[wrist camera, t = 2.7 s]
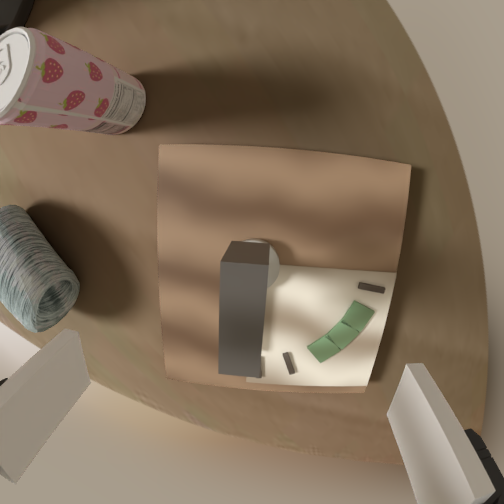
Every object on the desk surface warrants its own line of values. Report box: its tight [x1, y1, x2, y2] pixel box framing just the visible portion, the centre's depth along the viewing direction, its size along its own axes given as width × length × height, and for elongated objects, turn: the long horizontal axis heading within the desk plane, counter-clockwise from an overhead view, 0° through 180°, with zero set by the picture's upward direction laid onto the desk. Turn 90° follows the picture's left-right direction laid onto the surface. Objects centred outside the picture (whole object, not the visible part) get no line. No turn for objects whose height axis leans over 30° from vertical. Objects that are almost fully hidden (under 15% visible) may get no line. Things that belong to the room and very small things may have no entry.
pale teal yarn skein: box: [0, 205, 80, 332], centre depth 25 cm, size 14×10×10 cm
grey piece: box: [218, 238, 280, 378], centre depth 20 cm, size 11×4×10 cm, turn 177°
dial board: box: [157, 144, 411, 393], centre depth 26 cm, size 22×20×2 cm
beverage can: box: [0, 27, 146, 135], centre depth 17 cm, size 6×6×15 cm
